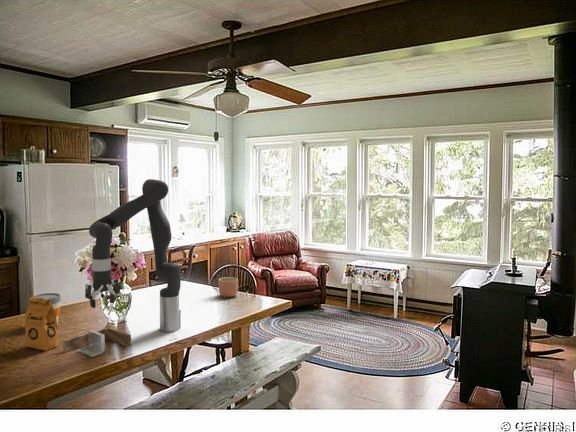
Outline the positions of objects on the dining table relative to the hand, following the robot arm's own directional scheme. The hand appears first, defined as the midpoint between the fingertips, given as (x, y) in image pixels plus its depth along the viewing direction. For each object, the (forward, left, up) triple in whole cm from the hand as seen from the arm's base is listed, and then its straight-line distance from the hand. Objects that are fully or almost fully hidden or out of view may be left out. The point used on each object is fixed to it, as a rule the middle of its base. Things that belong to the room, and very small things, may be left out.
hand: (102, 305), depth 193 cm
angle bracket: (+5, -1, -20) cm, 20 cm away
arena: (+1, -3, -20) cm, 20 cm away
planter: (-99, -20, -20) cm, 103 cm away
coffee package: (+15, -23, -20) cm, 34 cm away
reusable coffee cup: (0, -50, -20) cm, 53 cm away
